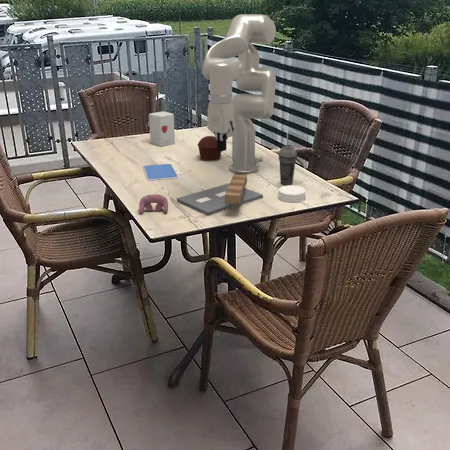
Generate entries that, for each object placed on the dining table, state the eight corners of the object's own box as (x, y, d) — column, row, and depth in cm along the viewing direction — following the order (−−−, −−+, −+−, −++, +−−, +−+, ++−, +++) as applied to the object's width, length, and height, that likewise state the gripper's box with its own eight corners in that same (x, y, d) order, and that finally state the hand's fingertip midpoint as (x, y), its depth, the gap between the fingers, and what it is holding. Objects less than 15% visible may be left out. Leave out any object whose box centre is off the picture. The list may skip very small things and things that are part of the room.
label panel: (230, 185, 217) (230, 175, 215) (262, 197, 204) (263, 186, 203) (176, 201, 201) (176, 190, 199) (208, 215, 189) (208, 203, 187)
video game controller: (168, 214, 194) (168, 194, 194) (168, 213, 189) (167, 193, 190) (140, 215, 193) (139, 195, 194) (138, 214, 189) (138, 193, 189)
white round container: (310, 197, 205) (311, 188, 203) (295, 205, 198) (295, 195, 196) (288, 191, 211) (288, 183, 209) (272, 198, 204) (272, 189, 202)
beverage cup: (281, 187, 214) (283, 136, 207) (274, 181, 221) (276, 132, 213) (298, 185, 216) (301, 135, 208) (291, 180, 223) (293, 131, 215)
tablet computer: (178, 179, 225) (178, 176, 225) (147, 182, 223) (147, 179, 222) (171, 166, 243) (171, 163, 242) (142, 168, 240) (142, 165, 239)
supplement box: (160, 147, 270) (159, 116, 264) (150, 143, 276) (148, 113, 270) (175, 143, 275) (174, 113, 269) (164, 140, 281) (163, 110, 276)
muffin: (192, 158, 252) (192, 136, 248) (211, 153, 259) (210, 132, 255) (209, 163, 244) (209, 141, 240) (228, 158, 251) (228, 137, 247)
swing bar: (234, 178, 211) (234, 171, 209) (247, 179, 210) (247, 171, 209) (224, 203, 187) (224, 194, 186) (239, 203, 186) (239, 195, 185)
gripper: (198, 97, 194) (200, 148, 202) (227, 103, 184) (227, 157, 191) (215, 94, 199) (216, 144, 206) (243, 100, 188) (243, 152, 196)
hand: (221, 150), depth 199 cm, fingers closed
